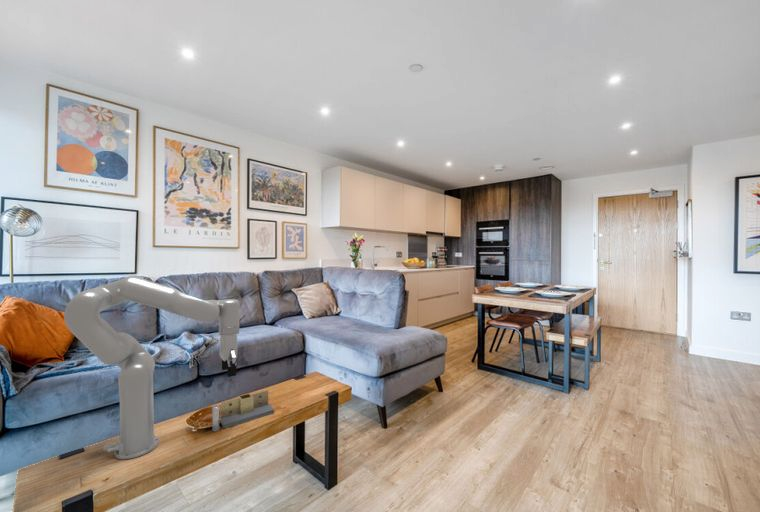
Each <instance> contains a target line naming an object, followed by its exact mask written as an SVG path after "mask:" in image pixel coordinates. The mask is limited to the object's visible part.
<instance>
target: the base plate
mask: <svg viewBox="0 0 760 512" xmlns="http://www.w3.org/2000/svg"><path fill="white" fill-rule="evenodd" d="M272 414H275V409H274V407H273V406H272V405H271V404H270V403H269V402H268V405H264V406H261V407H257V408H254V411H252V412H248V413H245V414H240V413H236V414H233V415H229V416H226V417H223V418H221V415H220V416H219V417H220V419H221V422H220V424H221V427H222V429H226V428H230V427H234V426H237V425H240V424H242V423H247V422H250V421H253V420H255V419H259V418H262V417H265V416H269V415H272Z"/></svg>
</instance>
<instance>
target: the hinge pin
mask: <svg viewBox="0 0 760 512" xmlns="http://www.w3.org/2000/svg"><path fill="white" fill-rule="evenodd" d="M211 408H212V411H211V412H212V432H218V431H220V424H221V422H220V420H219V411H220V405H218V404H217V405H213V406H212V407H211Z"/></svg>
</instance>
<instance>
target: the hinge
mask: <svg viewBox="0 0 760 512" xmlns="http://www.w3.org/2000/svg"><path fill="white" fill-rule="evenodd" d="M268 403H269V390H264V391H259V392H256V393H250V392H249V393H248V392H247V393H245V394H241V395H237V397H236V398H233V399H229V400H226V401H222V402H220V410H221V418H223V417H226V416H229V415H233V414H236V413H240V414H245V413H248V412H252V411H254V408H257V407H261V406H264V405H268Z"/></svg>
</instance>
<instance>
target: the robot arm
mask: <svg viewBox="0 0 760 512" xmlns="http://www.w3.org/2000/svg"><path fill="white" fill-rule="evenodd" d="M126 302H133V303H137V304H141V305H144V306H147V307H152V308H155V309H159V310H163V311H165V312H167V313H170V314H176V315H178V316H181V317H184V318H188V319H190V320H196V321H199V322H203V323H211V322H213V321H215V320H217V319H218V335H219V336H220V337H219V338H220V339H219V357H220V358H221V370H222V371H225V370H227V374H226V375H227V377H228V378H231V377H236V376H237V360H236V359H237V358H238V335H239V334H240V301H239V300H238V299H236V298H235V299H234V298H232V299H231V298H230V299H228V298H227V299H222V300H219V299H200V298H198V297H193V296H191V295H189V294H186V293H184V292H181V291H180V290H179V289H176V288H175V287H173V286H172V287H171V286H168V285H165V284H160V283H157V282H154V281H151V280H148V279H145V278H144V277H143V276H139V275H129V276H125V277H124V278H121V279H117V280H115V281H112V282H110V283H109V282H108V283H105V284H103V285H99V286H96V287H93V288H89V289H86V290H83V291H80V292H78V293H77V294H75V295H74V296H73V297H72V298H71V299H70V301H69V302H68V304H67V305H66V307H65V310H64V313H63V319H64V320H63V321H64V323H65V325H66V327H67V329H68V330H69V332H70V333H71V334H72V335H74V337H76V338H77V339H78V340H79V341H80V342H81V343H82V344H83V345H84V347H85V348H87V349H88V350H89V351H90V352H91V354H93V356H95V357H96V358H97V359H98V360H99V361H100V362H101V363H102V364H104V365H107V366H116V365H117V367H119V368H120V371H119V374H118V378H117V379H118V380H117V382H118V384H117V385H118V392H119V393H118V394H119V433H120V434H119V436H120V437H119V439H118V440H116V441H115V442H112V443H107V444H104V445H103V448H102V449H103V450H102V452H106V453H107V454H108V453H113V452H114V457H115V458H116V459H118V460H128V459H134V458H138V457H141V456H143V455H146V454H148V453H150V452H152V451H153V450H154V449H156V447H158V446H159V444H160V437H158V436H156V435H155V424H154V423H155V418H154V414H155V413H154V412H155V411H154V409H155V407H154V406H155V405H154V403H155V402H154V371H155V367H156V361H155V358H154V357H153V356H152V354H151V353H150V352H149V351H148V350H147V349H146V348H145V347H144V346H143V345H142V344H141V343H140V342H139V340H137V339H136V338H135V337H134V336H133V335H131V334H129V333H126V332H123V331H122V332H120V331H119V332H117V331H116V330H115V329H114V328H113V326H111V324H109V323H108V322H107V320H105V319H103V318H102V317H101V312H103V311H104V310H106V309H109V308H111V307H114V306H118V305H121V304H123V303H126Z"/></svg>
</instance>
